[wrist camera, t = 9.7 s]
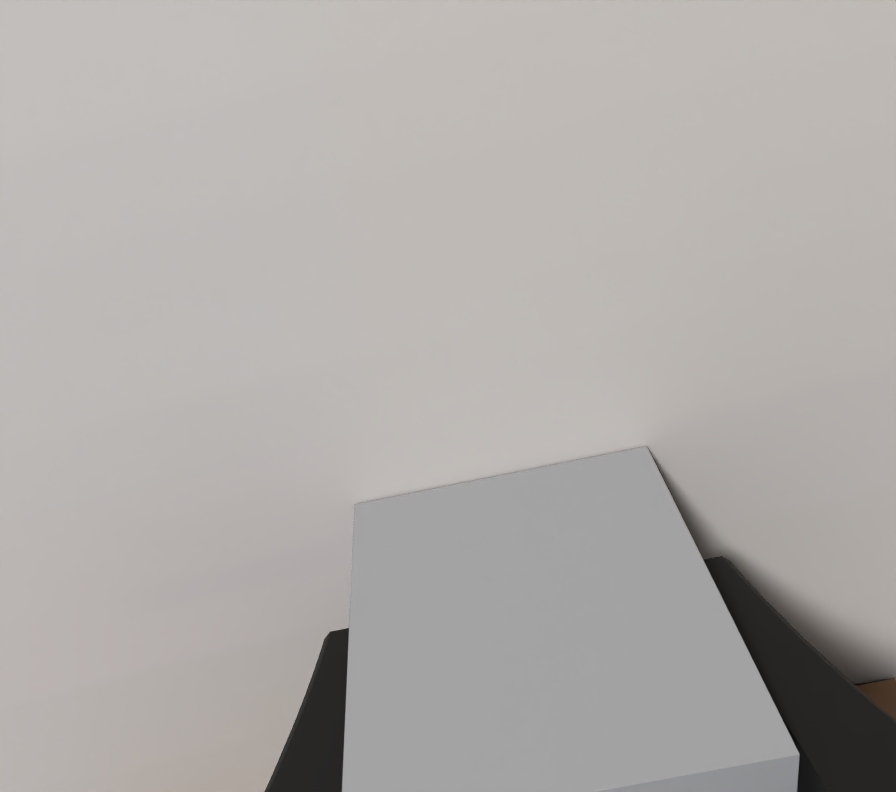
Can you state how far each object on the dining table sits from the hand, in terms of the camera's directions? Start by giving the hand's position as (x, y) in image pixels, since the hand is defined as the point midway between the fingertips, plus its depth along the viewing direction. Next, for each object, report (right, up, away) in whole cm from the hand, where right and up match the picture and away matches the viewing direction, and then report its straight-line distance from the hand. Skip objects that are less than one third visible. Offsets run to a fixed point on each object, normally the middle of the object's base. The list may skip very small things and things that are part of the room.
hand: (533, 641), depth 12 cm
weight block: (0, +1, +1) cm, 1 cm away
